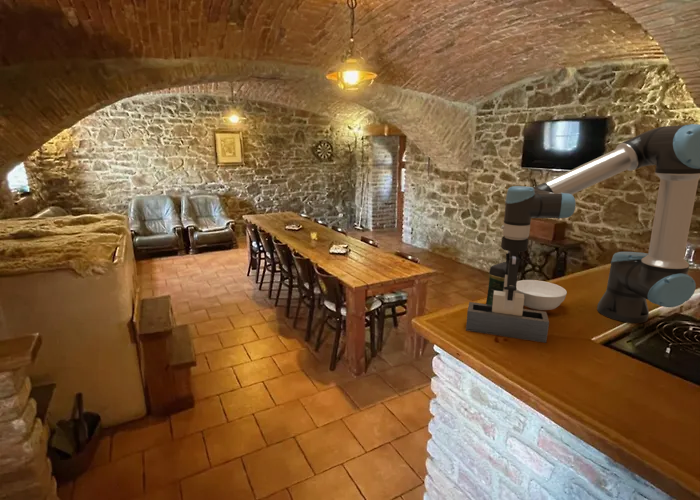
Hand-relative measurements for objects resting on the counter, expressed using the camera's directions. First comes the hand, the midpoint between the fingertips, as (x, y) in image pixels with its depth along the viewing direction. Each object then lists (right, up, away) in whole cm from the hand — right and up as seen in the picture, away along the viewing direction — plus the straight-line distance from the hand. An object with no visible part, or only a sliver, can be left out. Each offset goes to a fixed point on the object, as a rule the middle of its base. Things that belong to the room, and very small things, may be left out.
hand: (507, 300), depth 123 cm
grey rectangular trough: (0, -10, +3) cm, 11 cm away
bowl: (+21, -5, +23) cm, 31 cm away
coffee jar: (+4, -7, +17) cm, 19 cm away
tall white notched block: (0, -9, +2) cm, 9 cm away
